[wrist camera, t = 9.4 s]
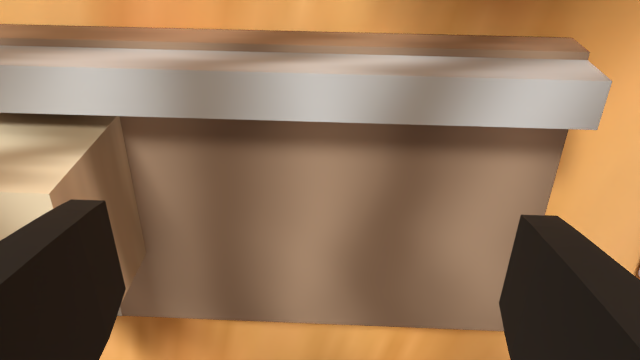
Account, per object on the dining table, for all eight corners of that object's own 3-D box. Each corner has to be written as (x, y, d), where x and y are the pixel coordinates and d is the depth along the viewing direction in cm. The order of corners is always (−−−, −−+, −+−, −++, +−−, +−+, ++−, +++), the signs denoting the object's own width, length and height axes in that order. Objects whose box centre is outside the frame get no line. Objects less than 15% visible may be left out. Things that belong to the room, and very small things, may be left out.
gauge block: (118, 113, 18) (48, 193, 14) (153, 291, 22) (107, 395, 18) (2, 110, 18) (-103, 188, 14) (58, 287, 22) (-10, 389, 18)
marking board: (572, 37, 18) (614, 72, 15) (503, 305, 24) (524, 366, 21) (-81, 22, 18) (-159, 53, 16) (17, 286, 25) (-26, 342, 22)
